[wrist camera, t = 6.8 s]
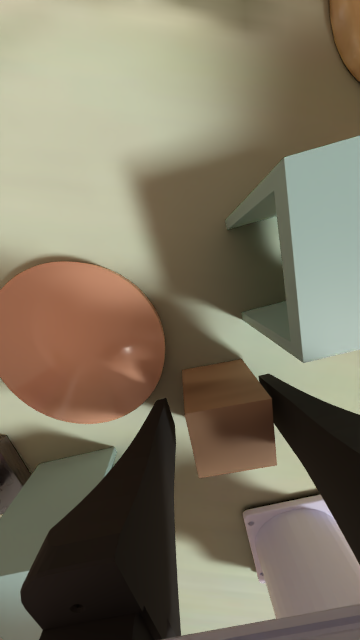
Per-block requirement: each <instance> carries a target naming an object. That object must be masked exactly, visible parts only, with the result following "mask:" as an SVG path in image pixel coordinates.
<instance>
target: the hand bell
mask: <svg viewBox="0 0 360 640" xmlns="http://www.w3.org/2000/svg"><path fill="white" fill-rule="evenodd" d="M330 20H331V25H332V31H333V35H334V40H335V44H336V46H337V49H338V52H339V54H340V56H341V58H342V60H343V62H344V64H345V65H346V67H347V68H348V70H349V71H350V72H351V74H352V75H353V76H354V77H355V78H356V79H357V80H358V81H359V82H360V0H330Z"/></svg>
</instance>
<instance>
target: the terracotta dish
mask: <svg viewBox="0 0 360 640" xmlns="http://www.w3.org/2000/svg"><path fill="white" fill-rule="evenodd" d="M165 346H166V345H165V335H164V330H163V326H162V323H161V320H160V318H159V315H158V314H157V312H156V310H155V308H154V306H153V305H152V303H151V302H150V300H149V299H148V298H147V297H146V295H145V294H144V293H143V292H142V291H141V290H140V289H139V288H138V287H137V286H135V285H134V284H133V283H132V282H131V281H129V280H128V279H126V278H125V277H123V276H122V275H120V274H118V273H116V272H114V271H112V270H110V269H107V268H104V267H101V266H98V265H93V264H88V263H79V262H67V261H62V262H50V263H45V264H40V265H37V266H34V267H32V268H29V269H27V270H25V271H23V272H21V273H19V274H18V275H16V276H15V277H14V278H12V279H11V280H10V281H9V282H8V283H7V284H6V285H5V286H4V287H3V288H2V289H1V290H0V377H1V379H2V380H3V382H4V383H5V384H6V385H7V387H8V388H9V389H10V390H11V391H12V392H13V393H14V394H15V395H16V396H17V397H18V398H19V399H21V400H22V401H23V402H24V403H26V404H27V405H28V406H30V407H32V408H33V409H35V410H37V411H38V412H41V413H43V414H45V415H47V416H49V417H52V418H55V419H58V420H62V421H66V422H71V423H79V424H94V423H102V422H108V421H111V420H115V419H118V418H120V417H122V416H125V415H127V414H128V413H130V412H132V411H134V410H135V409H136V408H138V407H139V406H140V405H141V404H143V403H144V401H145V400H146V399H147V398H148V397H149V396H150V395H151V393H152V392H153V391H154V389H155V387H156V385H157V383H158V382H159V379H160V376H161V373H162V370H163V365H164V358H165Z"/></svg>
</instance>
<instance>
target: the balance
mask: <svg viewBox="0 0 360 640" xmlns="http://www.w3.org/2000/svg"><path fill="white" fill-rule="evenodd" d="M30 476H31V474H30V473H29V471H28V469H27V468H26V466H25V464H24V463H23V461H22V460H21V458H20V456H19V455H18V453H17V452H16V450H15V448H14V447H13V445H12V444H11V442H10V440H9V439H8V437H7V436H2V437H0V514H4V512H5V511H6V510H7V508H8V507H9V505H10V504H11V503H12V501H13V500H14V498H15V497H16V496H17V494H18V493H19V492H20V490H21V489H22V487H23V486H24V485H25V483H26V482H27V480H28V479H29V478H30Z"/></svg>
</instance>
